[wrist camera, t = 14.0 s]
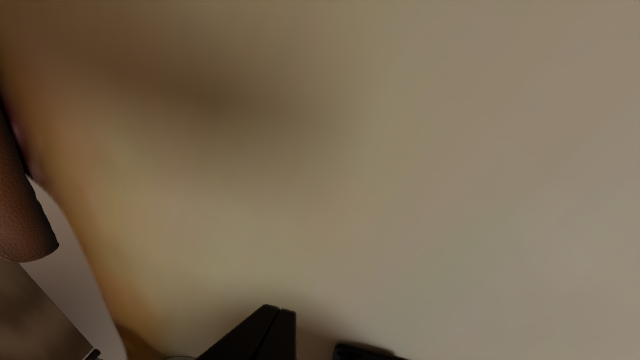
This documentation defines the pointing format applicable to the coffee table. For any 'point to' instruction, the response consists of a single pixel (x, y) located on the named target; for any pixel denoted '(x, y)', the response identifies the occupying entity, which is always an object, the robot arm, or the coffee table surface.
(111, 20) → the coffee table surface
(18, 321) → the door
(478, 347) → the coffee table surface
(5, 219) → the sunglasses case
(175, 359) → the coffee mug
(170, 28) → the coffee table surface
